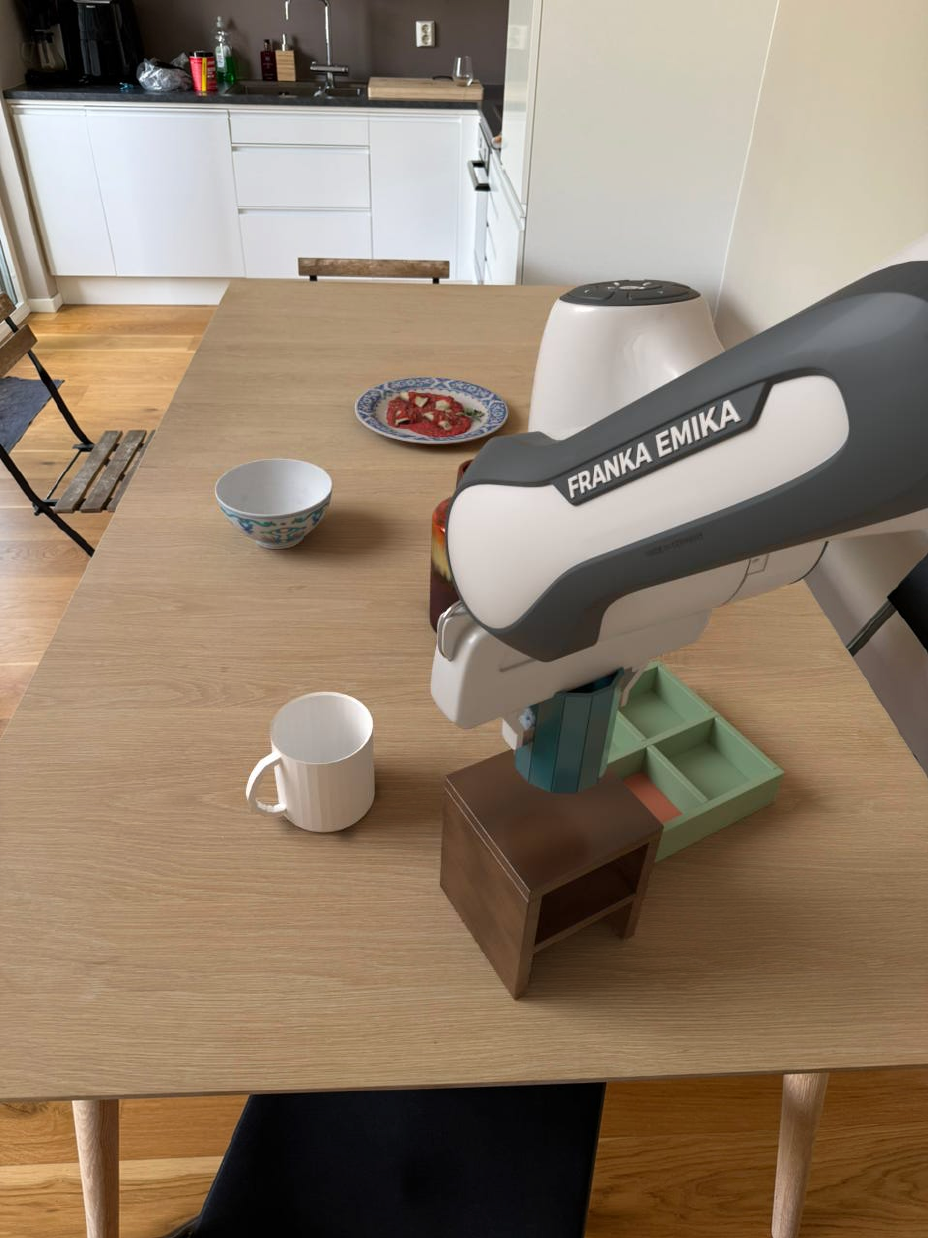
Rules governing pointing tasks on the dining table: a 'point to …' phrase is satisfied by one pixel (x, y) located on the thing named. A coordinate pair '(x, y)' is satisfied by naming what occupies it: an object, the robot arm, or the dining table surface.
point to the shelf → (541, 860)
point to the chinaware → (275, 500)
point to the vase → (441, 561)
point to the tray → (687, 761)
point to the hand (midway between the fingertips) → (565, 721)
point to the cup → (571, 737)
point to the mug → (319, 762)
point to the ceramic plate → (431, 410)
